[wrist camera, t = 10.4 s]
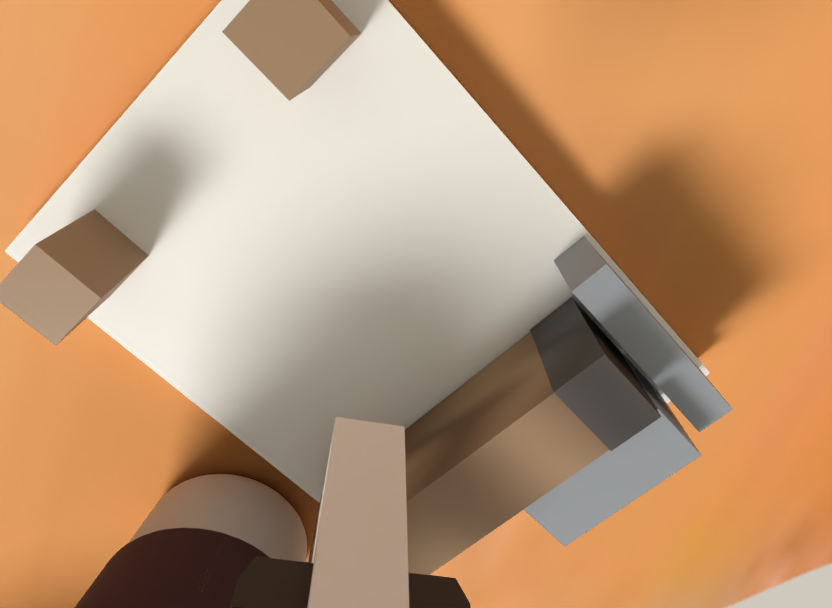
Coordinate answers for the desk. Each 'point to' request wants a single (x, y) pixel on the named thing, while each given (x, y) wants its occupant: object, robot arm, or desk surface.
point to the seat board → (336, 248)
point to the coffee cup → (199, 545)
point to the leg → (516, 434)
